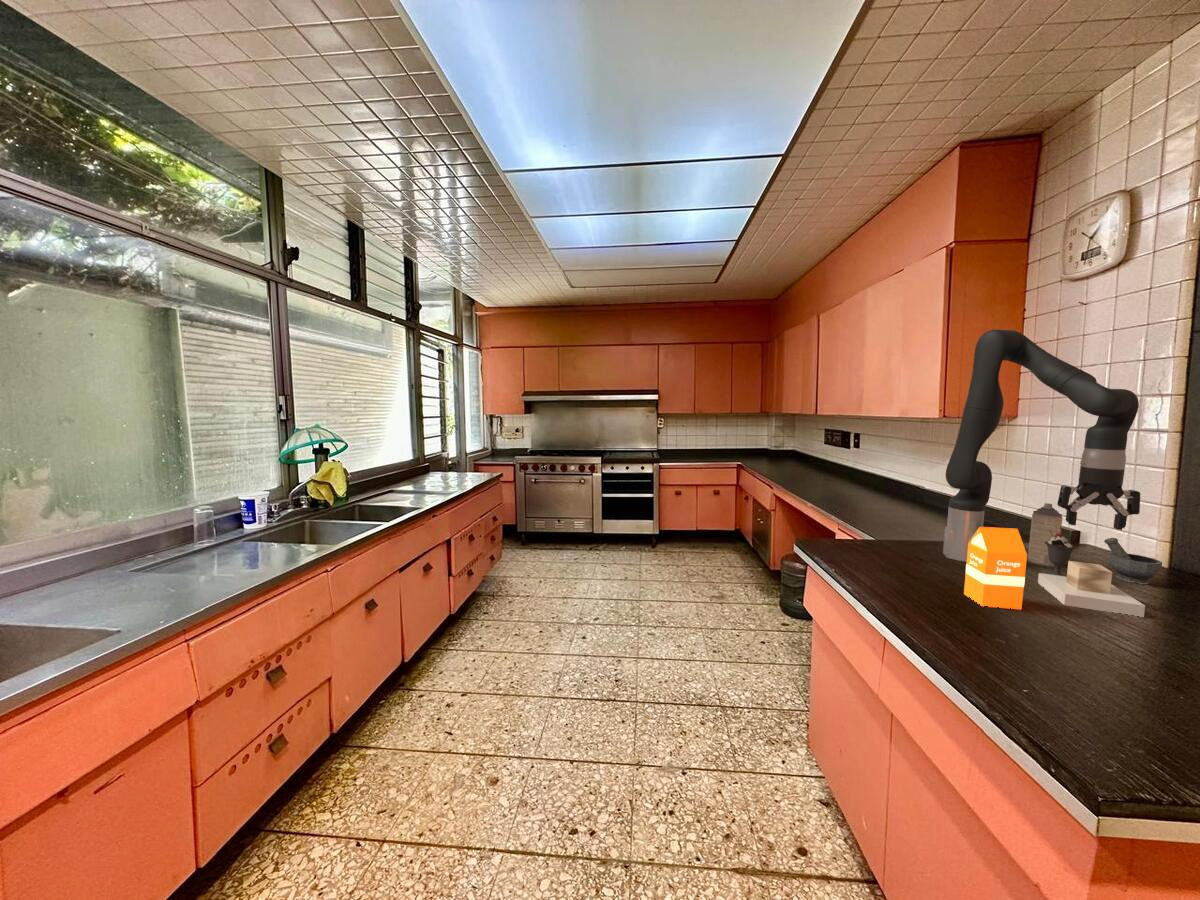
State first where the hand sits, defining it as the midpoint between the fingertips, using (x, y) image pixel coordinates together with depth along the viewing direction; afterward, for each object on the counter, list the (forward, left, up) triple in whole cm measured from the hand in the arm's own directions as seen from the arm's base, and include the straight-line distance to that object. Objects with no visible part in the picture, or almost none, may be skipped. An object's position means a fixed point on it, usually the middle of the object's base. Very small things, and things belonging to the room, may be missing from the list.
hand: (1094, 526), depth 113 cm
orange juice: (-23, -14, -20) cm, 34 cm away
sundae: (0, +17, -20) cm, 26 cm away
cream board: (0, 0, -20) cm, 20 cm away
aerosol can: (+1, +30, -20) cm, 36 cm away
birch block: (0, 0, -17) cm, 17 cm away
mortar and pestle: (+18, +24, -20) cm, 36 cm away
